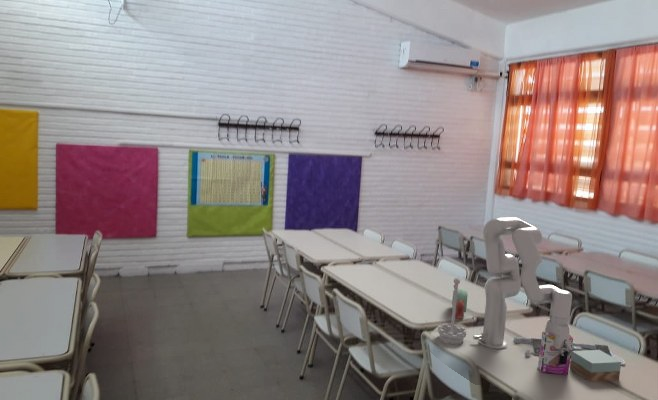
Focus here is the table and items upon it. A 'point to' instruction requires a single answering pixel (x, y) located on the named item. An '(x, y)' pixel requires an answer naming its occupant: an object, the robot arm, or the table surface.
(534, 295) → the robot arm
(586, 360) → the tower top slab
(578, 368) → the tower base slab
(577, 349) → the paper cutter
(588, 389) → the table surface
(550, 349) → the candy bar box
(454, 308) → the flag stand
